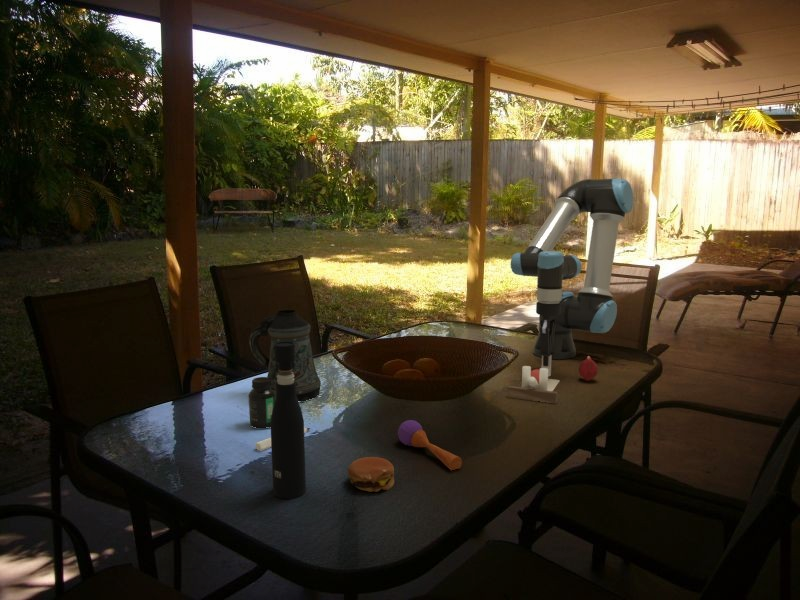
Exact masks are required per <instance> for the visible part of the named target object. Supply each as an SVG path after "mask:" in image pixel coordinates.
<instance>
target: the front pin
mask: <svg viewBox="0 0 800 600" xmlns="http://www.w3.org/2000/svg"><path fill="white" fill-rule="evenodd" d="M528 383H529V385H530V387H531V388H532V389H538V390H539V384H538V382H537V380H536V379H535V378H534V377H529V378H528Z"/></svg>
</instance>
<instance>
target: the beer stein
mask: <svg viewBox="0 0 800 600" xmlns="http://www.w3.org/2000/svg"><path fill="white" fill-rule="evenodd" d="M311 326H312V325H311V324H310V323H309V322H308V321H307V320H306V319H304V318H302V317H301V316H300V315H298V314H297V313H296V310H293V309H291V310H290V309H285V310H278V311H277V312H276V314H275V315H271V316H266V317H264V318H262V321H261V322H260V325H259V326H257V327H255V328H254V329H252V330H251V331H250V336H249V339H248V340H249V342H248V343H249V348H250V351H251V353H252V355H253V356H254V358H255V359H256V361H258V362H259V364H260V365H262V366H263V367H264V368H266V369H267V370H268V371H267V376H266V377H269V378H271V380H272V387H271V388H273V389H274V390H275V391H276V383H277V382H278V381H277V379H278V378H277V376H278V373H280V372H279V371H278V369H279V363H278V362H275V352H274V344H275V343H278V342H293V343H295V361H293V362H292V371H291V372H293V375H294V382H296V397H297V399H298V401H306V400H309V399H312V398H315V397H316V396H317V395H319V396H320V391H321V385H322V384H321V383H322V382H321V379H320V377H319V375H318V373H317V372H318V371H317V369H316V365H315V362H314V361H315V360H314V357H313V356H314V355H313V350H312V344H311V340H310V332H311ZM261 336H265V337H266V336H270V349H269V358H268V357H267V356H266V355H265V354H264V353H263V351H262V350H261V348H260V346H259V338H260V337H261ZM317 397H318V396H317ZM317 397H316V398H317ZM316 398H315V399H316ZM312 400H313V399H312ZM309 401H310V400H309ZM306 402H307V401H306Z"/></svg>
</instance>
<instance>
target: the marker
mask: <svg viewBox="0 0 800 600" xmlns="http://www.w3.org/2000/svg"><path fill="white" fill-rule="evenodd" d="M310 429H311V427H304V435H305V434H306V433H307V432H308V431H309V430H310ZM270 447H271V436H270V437H269V438H266V439H262V440H261V441H257V442H256V443H255V446H254V448H255V450H256V449H258V450H260V451H261V452H263V451H265V449H266V450H268V449H270ZM258 450H257V451H258ZM262 450H263V451H262ZM260 451H259V452H260Z"/></svg>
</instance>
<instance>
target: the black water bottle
mask: <svg viewBox="0 0 800 600" xmlns="http://www.w3.org/2000/svg"><path fill="white" fill-rule="evenodd" d="M274 352H275V362H278V363H279V369H278V371H279V372H280V373H278V376H277V378H278V379H277V381H278V382H277V383H276V400H275V403H274V406H273V410H272V415H271V428H270V437H271V469H272V470H271V471H272V473H271V474H272V493H273V495H274V496H275V497H276V496H277V497H276V498H278V497H279V498H278V499H282V498H285V499H284V500H290V498H292V499H296V498H299V497H301V496H303V495H304V494H305V493H306V490H307V487H306V486H307V485H306V484H307V483H306V482H307V481H306V478H307V477H306V451H305V450H306V449H305V434H304V428H305V421H304V415H303V411H302V407H301V405H300V403H299V402H298V399H297V397H296V382H294V375H293V372H291V371H292V362H293V361H295V343H293V342H278V343H275V344H274ZM286 498H287V499H286Z"/></svg>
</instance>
